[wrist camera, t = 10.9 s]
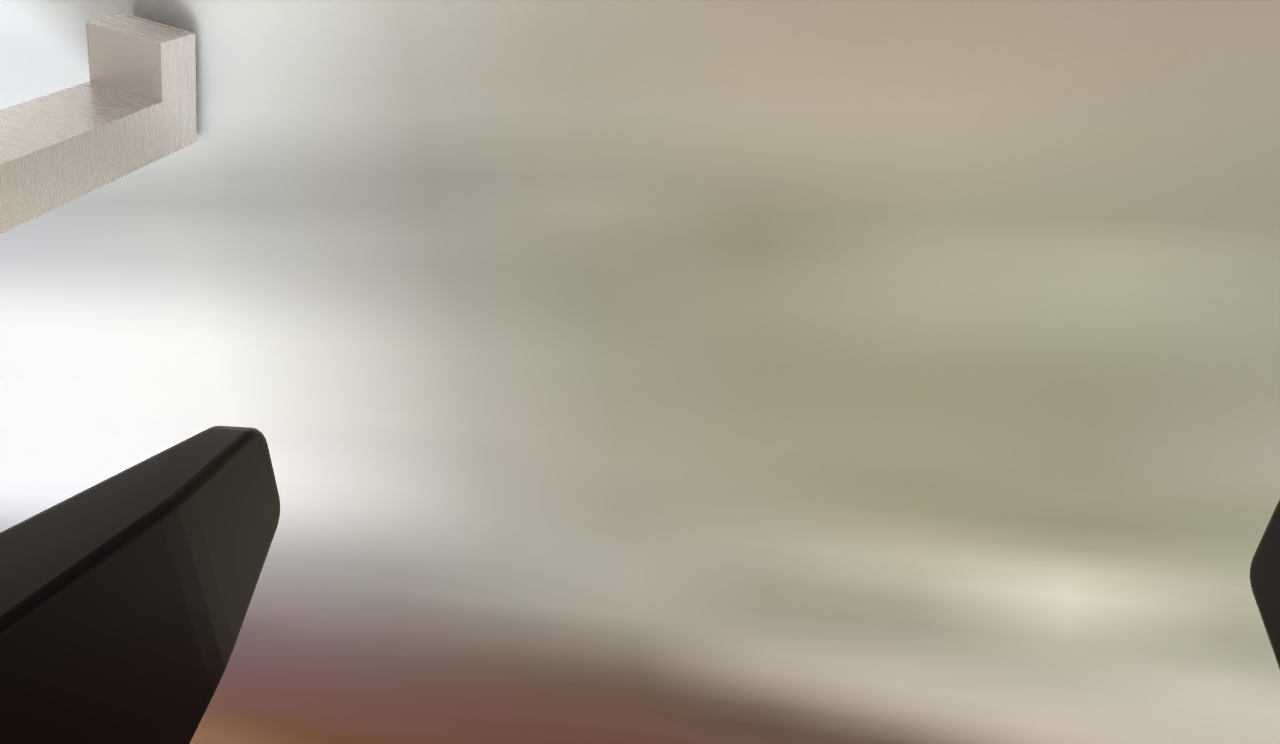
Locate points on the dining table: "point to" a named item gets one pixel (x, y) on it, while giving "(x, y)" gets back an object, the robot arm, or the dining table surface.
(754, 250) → the dining table surface
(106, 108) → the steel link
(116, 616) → the robot arm
